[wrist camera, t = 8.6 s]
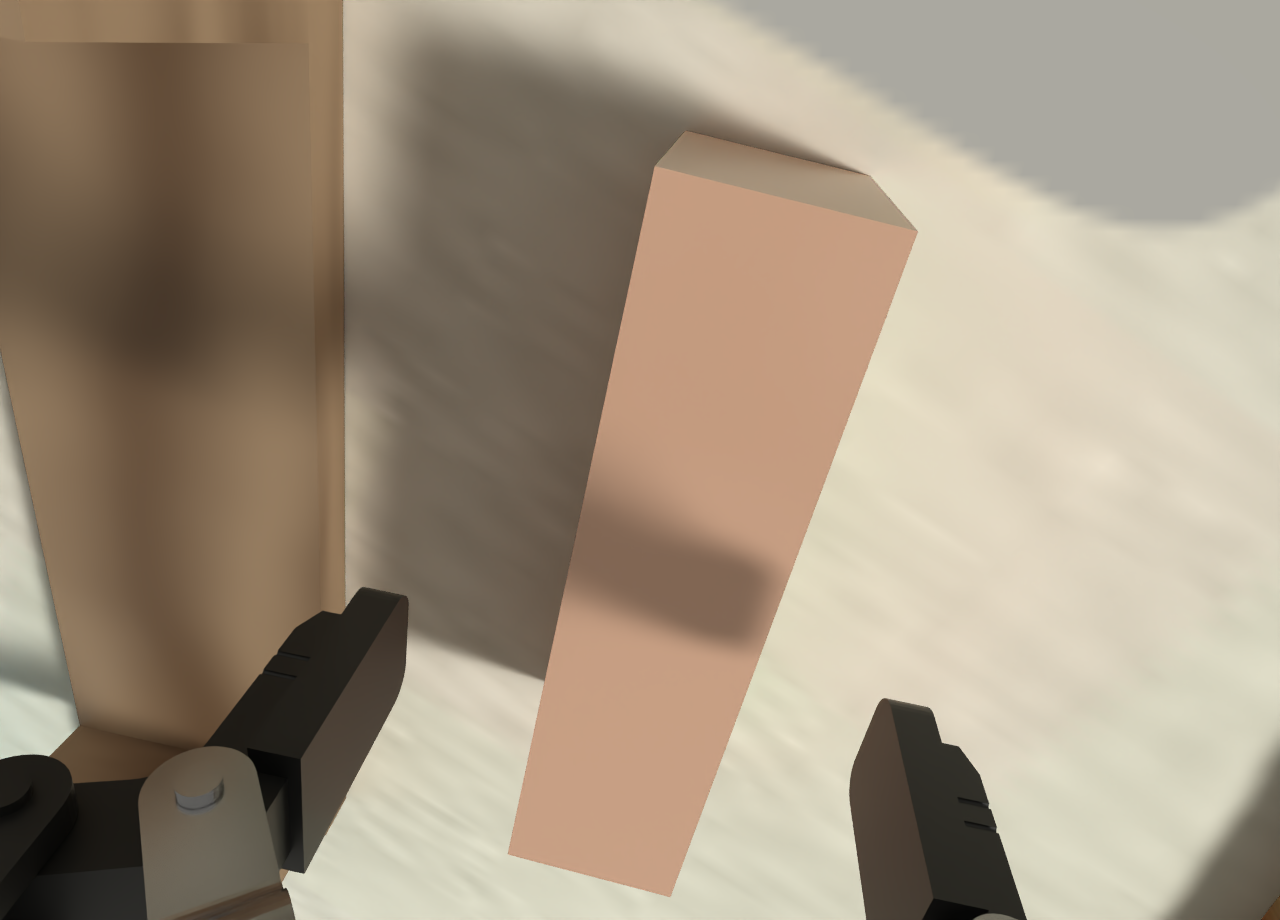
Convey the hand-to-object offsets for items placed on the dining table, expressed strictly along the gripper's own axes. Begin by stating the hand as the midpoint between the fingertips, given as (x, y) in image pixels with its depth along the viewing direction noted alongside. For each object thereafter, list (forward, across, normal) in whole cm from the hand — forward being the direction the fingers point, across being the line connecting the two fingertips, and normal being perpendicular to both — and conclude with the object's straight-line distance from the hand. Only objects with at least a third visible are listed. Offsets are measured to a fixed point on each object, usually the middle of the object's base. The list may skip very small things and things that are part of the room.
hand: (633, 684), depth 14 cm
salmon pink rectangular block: (+8, 0, 0) cm, 8 cm away
